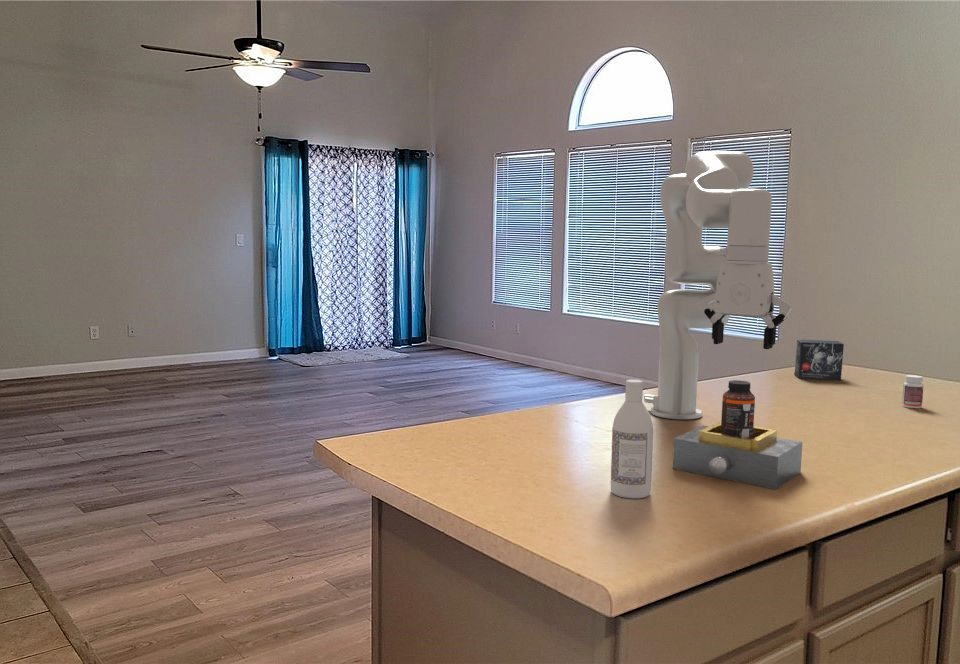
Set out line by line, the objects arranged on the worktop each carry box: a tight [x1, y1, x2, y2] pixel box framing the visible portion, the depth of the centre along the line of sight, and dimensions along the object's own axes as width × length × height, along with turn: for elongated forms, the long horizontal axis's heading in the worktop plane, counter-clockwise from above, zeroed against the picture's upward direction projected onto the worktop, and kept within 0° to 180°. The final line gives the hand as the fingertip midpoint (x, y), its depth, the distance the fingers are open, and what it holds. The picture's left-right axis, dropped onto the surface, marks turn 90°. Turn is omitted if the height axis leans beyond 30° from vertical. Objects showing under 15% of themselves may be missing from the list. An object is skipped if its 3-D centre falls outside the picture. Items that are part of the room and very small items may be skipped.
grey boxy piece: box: [671, 421, 803, 490], centre depth 155 cm, size 20×17×8 cm
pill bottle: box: [901, 374, 925, 409], centre depth 217 cm, size 5×5×8 cm
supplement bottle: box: [720, 379, 756, 439], centre depth 155 cm, size 6×6×11 cm
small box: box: [793, 338, 845, 381], centre depth 261 cm, size 13×7×12 cm, turn 80°
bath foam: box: [610, 379, 654, 500], centre depth 140 cm, size 7×7×20 cm
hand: (742, 345), depth 154 cm, fingers open, 9 cm apart
